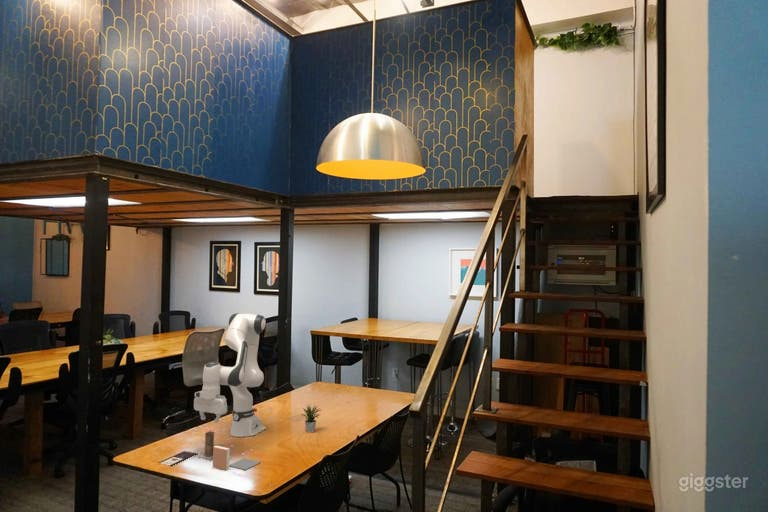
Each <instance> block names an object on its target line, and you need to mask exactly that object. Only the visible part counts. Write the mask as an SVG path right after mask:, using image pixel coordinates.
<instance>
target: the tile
mask: <svg viewBox="0 0 768 512" xmlns="http://www.w3.org/2000/svg"><path fill="white" fill-rule="evenodd" d="M230 452H231V448H229V447H225V446H219V445H214V447H213V460H212V468H214V469H219V470H222V471H227V472H228V471H229V470H230V467H229V465H230V464H231V463H230V461H231V460H230V459H231V457H230V454H231V453H230Z"/></svg>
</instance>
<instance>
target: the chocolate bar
mask: <svg viewBox="0 0 768 512" xmlns="http://www.w3.org/2000/svg"><path fill="white" fill-rule="evenodd" d="M194 455H195V456H197V455H199V454H198V452H192V451H186V450H184V451H181V452H179V453H177V454H174V455H172V456H170V457H168V458H166V459H163V460H161V461H159V462H158V463H161V464H165V465H164V466H167V465H170V466H169V467H174V466H176V465H178V463H179V464H180V462H181V463H182V461H183V462H184V460H185V461H187V460H189V459H191V458H193V457H195V456H194ZM192 456H193V457H192ZM190 457H191V458H190ZM188 458H189V459H188ZM186 459H187V460H186ZM161 464H160V465H161ZM175 464H176V465H175ZM173 465H174V466H173Z"/></svg>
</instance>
